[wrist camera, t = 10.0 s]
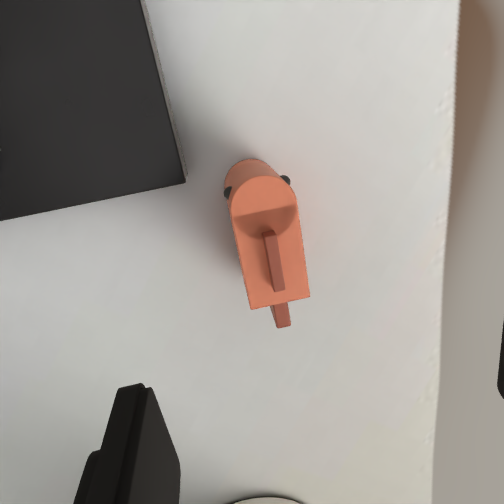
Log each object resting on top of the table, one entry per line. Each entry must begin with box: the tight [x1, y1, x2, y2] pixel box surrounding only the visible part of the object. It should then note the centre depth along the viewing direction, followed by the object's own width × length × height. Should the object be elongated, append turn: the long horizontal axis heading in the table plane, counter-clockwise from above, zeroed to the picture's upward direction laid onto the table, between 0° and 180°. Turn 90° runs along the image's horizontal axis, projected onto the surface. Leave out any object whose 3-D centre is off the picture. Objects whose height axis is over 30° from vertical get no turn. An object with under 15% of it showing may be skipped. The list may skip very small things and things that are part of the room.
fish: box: [224, 159, 310, 328], centre depth 21 cm, size 8×3×6 cm, turn 10°
